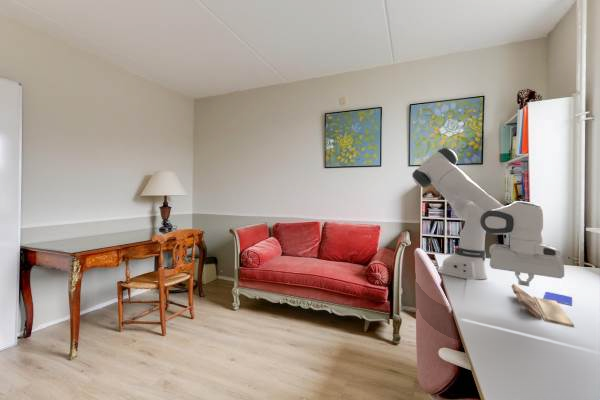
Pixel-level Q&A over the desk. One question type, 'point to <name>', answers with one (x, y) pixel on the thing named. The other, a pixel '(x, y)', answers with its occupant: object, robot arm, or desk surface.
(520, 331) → the desk surface
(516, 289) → the plank
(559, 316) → the laid board
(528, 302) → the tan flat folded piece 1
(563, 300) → the hard drive
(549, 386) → the desk surface
